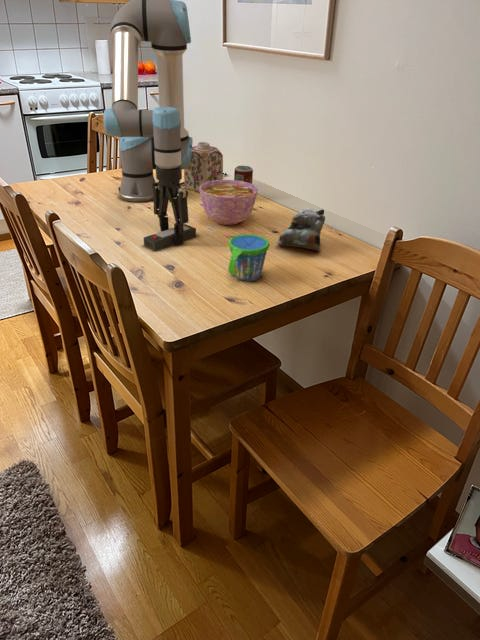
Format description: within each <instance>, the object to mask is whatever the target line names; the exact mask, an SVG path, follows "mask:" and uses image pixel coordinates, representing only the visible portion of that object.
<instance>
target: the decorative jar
mask: <svg viewBox="0 0 480 640" xmlns="http://www.w3.org/2000/svg"><path fill="white" fill-rule="evenodd" d="M223 172H224V155H223V153H222V152H221V150H219V148H218V147H215V146H211V144H210V142H208V141H199V142H197V145H195V146H192V155H191V162H190V166H189V168H188V169H183V182H184V184H183V185H184V188H185V190H190V191H192V192H193V191H194V192H196V193H200V190H199V187H200V186H201V185H202V184H204V183H206V182H210V181H215V180H224V174H223Z"/></svg>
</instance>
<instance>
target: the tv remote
mask: <svg viewBox="0 0 480 640" xmlns="http://www.w3.org/2000/svg"><path fill="white" fill-rule="evenodd" d="M183 228H184V233H183V242H184V241H187V240H190V239H193V238H195V237H197V227H194V226H191V225H189V224H187V223H185V224H183ZM173 245H175V235H174V227H171V228H169V229H168V230H165V231H162V232H161V231H158V232H156V233H154V234H150V235H147V236H144V237H143V247H146V248H147V249H150V250H152V251H154V252H156V251H159V250H162V249H165V248H167V247H171V246H173Z"/></svg>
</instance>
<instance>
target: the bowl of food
mask: <svg viewBox="0 0 480 640" xmlns="http://www.w3.org/2000/svg"><path fill="white" fill-rule="evenodd" d="M199 190H200V192H199V194H200V195H199V196H200V199H201V203H202V207H203V210H204V213H205V214H206V215H207V217H208V218H210V219H211V220H213V221H215V222H216V223H218V224H220V225H224V226H234V225H237V224H239V223H241V222H244V221H245V220H247V219H248V218H249V217H250V216H251V214H252V212H253V210H254V207H255V204H256V200H257V197H258V193H259V188H258V187H257V186H256V185H255V184H253V183H252V184H250V183H248V182H243V181H236V180H234V179H223V180H215V181H210V182H206V183H204V184H202V185H201V186H200V187H199Z"/></svg>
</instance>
